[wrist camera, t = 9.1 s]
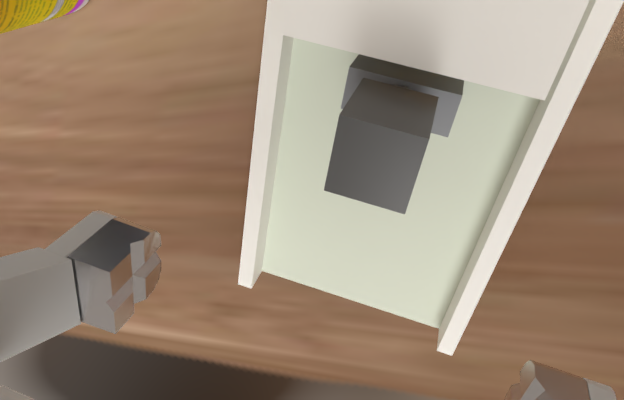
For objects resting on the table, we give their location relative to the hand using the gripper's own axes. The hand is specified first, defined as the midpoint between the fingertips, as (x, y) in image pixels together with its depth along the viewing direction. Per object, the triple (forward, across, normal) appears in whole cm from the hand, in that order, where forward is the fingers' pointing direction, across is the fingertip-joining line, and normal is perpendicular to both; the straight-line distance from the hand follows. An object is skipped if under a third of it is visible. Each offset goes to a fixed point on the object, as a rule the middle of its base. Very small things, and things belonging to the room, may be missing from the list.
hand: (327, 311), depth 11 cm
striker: (+18, +1, 0) cm, 18 cm away
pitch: (+19, +1, +4) cm, 20 cm away
